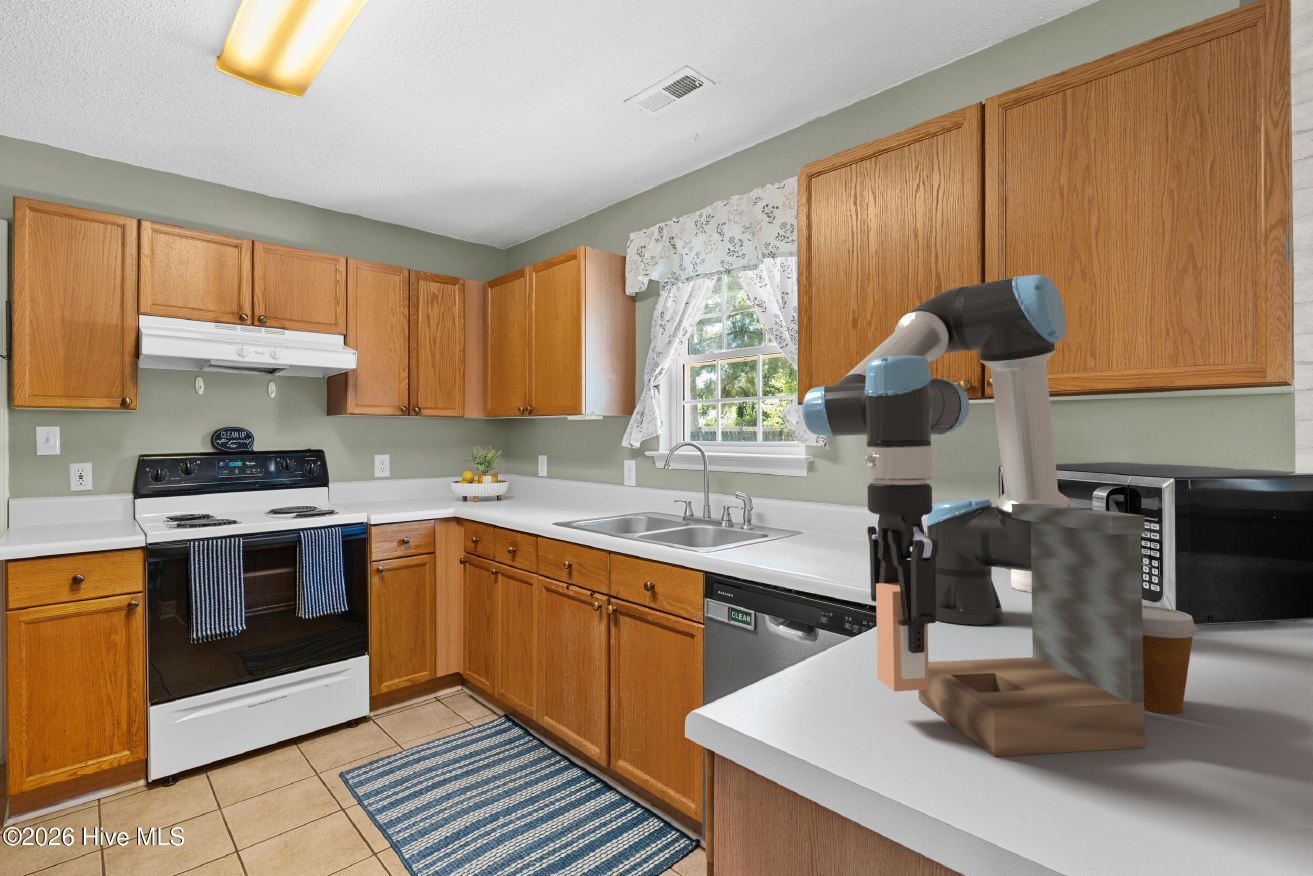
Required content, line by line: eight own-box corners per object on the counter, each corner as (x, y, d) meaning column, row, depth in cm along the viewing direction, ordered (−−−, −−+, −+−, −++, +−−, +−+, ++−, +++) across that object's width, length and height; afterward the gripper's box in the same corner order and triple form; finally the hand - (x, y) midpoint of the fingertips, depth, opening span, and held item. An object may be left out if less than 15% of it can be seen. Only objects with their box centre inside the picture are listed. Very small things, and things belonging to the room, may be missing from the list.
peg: (877, 678, 82) (876, 583, 82) (910, 676, 82) (908, 582, 82) (894, 691, 77) (892, 591, 78) (928, 689, 78) (927, 590, 78)
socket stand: (916, 698, 87) (914, 504, 87) (1040, 692, 89) (1038, 503, 89) (997, 759, 70) (994, 518, 70) (1148, 749, 72) (1144, 515, 72)
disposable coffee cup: (1100, 704, 84) (1098, 612, 85) (1115, 685, 91) (1114, 600, 91) (1194, 726, 78) (1192, 626, 78) (1203, 704, 84) (1201, 612, 85)
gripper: (842, 478, 88) (844, 649, 88) (905, 487, 71) (908, 699, 71) (894, 477, 89) (897, 646, 89) (969, 485, 72) (973, 695, 72)
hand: (902, 669), depth 80 cm, fingers closed on peg, 4 cm apart
